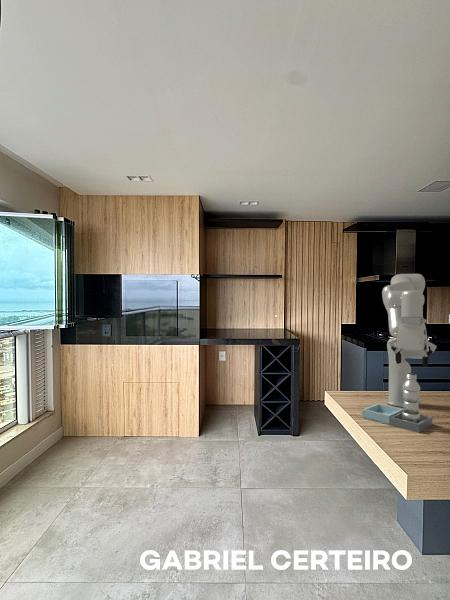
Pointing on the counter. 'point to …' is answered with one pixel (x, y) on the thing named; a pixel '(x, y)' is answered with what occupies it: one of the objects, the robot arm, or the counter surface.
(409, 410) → the plastic bottle
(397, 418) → the bin
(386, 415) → the bin
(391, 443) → the counter surface
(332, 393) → the counter surface
